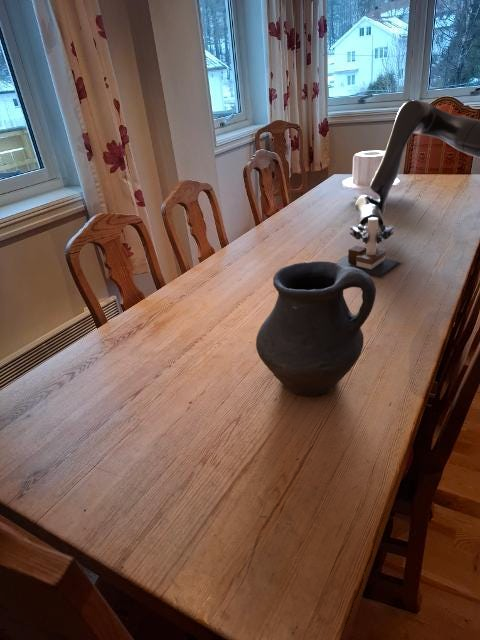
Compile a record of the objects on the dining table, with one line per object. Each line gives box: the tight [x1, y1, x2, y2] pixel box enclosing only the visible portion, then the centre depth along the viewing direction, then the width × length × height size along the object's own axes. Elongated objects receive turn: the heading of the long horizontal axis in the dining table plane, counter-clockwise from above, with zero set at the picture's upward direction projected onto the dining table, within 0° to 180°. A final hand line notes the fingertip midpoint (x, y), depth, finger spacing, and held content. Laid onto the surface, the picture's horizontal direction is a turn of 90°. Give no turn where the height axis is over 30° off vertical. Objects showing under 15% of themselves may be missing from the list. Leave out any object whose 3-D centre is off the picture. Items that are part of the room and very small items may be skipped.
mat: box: [335, 255, 400, 278], centre depth 134 cm, size 16×12×1 cm
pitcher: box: [255, 260, 377, 397], centre depth 81 cm, size 21×22×25 cm
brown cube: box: [347, 245, 367, 263], centre depth 135 cm, size 4×4×4 cm
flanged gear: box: [342, 150, 400, 200], centre depth 196 cm, size 25×25×19 cm
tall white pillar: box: [356, 217, 387, 269], centre depth 129 cm, size 8×5×14 cm, turn 136°
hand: (372, 240), depth 126 cm, fingers closed on tall white pillar, 3 cm apart
